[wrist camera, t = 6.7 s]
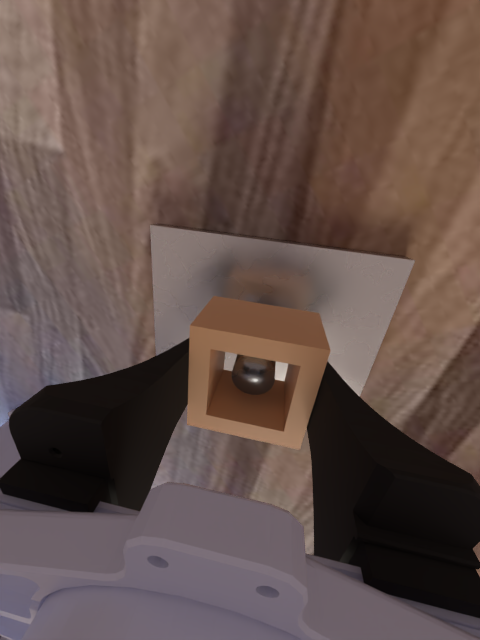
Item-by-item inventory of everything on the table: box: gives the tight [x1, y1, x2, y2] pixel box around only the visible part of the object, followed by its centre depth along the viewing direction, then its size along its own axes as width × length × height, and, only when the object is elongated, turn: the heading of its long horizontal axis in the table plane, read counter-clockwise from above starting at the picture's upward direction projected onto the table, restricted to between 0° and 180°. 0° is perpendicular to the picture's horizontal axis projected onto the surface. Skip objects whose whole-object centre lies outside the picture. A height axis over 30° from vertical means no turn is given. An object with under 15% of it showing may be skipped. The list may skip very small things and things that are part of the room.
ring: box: [187, 296, 331, 450], centre depth 12 cm, size 5×5×4 cm
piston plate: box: [150, 224, 415, 397], centre depth 14 cm, size 14×11×6 cm
